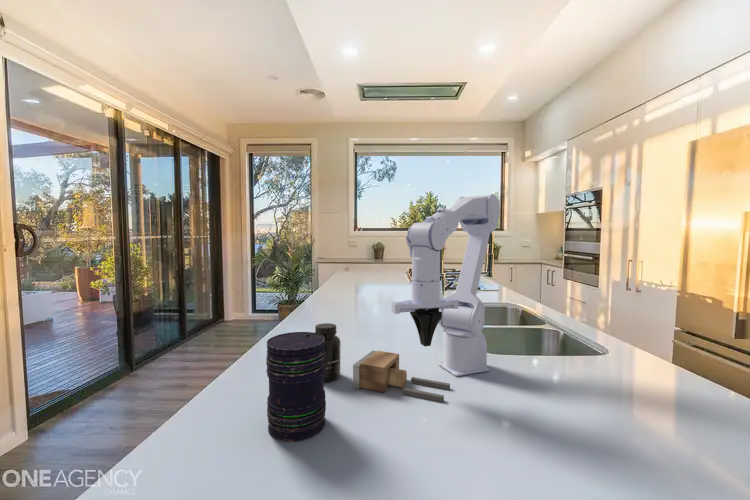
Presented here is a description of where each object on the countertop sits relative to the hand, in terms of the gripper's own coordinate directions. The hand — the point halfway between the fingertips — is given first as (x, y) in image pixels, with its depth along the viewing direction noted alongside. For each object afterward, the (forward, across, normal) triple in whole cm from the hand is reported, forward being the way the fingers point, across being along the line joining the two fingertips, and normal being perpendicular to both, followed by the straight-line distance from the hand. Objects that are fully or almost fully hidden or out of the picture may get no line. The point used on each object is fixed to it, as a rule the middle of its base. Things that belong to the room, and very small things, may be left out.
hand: (425, 344), depth 71 cm
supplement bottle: (+10, +18, -14) cm, 25 cm away
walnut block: (+10, +8, -7) cm, 14 cm away
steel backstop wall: (+10, +10, -9) cm, 17 cm away
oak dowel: (+10, +6, -6) cm, 13 cm away
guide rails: (+10, 0, 0) cm, 10 cm away
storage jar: (+10, +27, +4) cm, 29 cm away
